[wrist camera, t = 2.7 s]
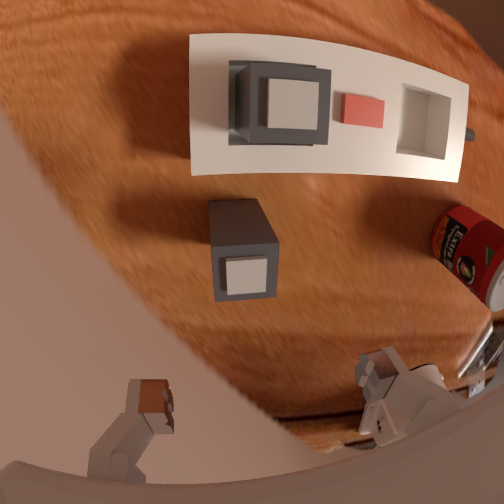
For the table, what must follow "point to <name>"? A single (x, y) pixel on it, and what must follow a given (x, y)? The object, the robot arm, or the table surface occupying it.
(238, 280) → the plug
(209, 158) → the pdu strip
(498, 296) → the canned food
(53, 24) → the table surface
